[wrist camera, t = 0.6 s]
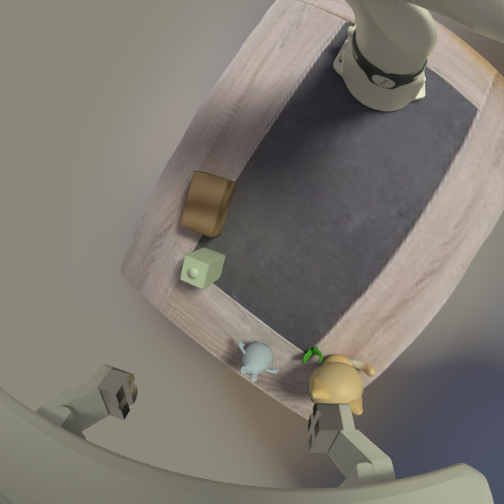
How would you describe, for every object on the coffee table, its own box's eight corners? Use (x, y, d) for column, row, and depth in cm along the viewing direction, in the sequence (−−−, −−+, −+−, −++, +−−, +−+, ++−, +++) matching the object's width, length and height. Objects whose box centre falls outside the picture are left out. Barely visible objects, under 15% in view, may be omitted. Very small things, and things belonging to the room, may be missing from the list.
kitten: (294, 366, 58) (280, 410, 43) (316, 331, 55) (308, 373, 41) (351, 391, 55) (350, 437, 41) (375, 359, 52) (383, 404, 38)
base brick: (206, 172, 55) (194, 170, 50) (236, 181, 54) (227, 180, 49) (191, 222, 58) (179, 225, 53) (221, 234, 57) (210, 237, 52)
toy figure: (237, 339, 60) (216, 368, 49) (253, 322, 58) (233, 349, 47) (273, 368, 59) (259, 401, 48) (291, 352, 57) (280, 385, 46)
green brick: (204, 247, 58) (183, 255, 50) (225, 255, 57) (207, 265, 49) (198, 269, 59) (178, 280, 51) (219, 277, 58) (201, 290, 50)
